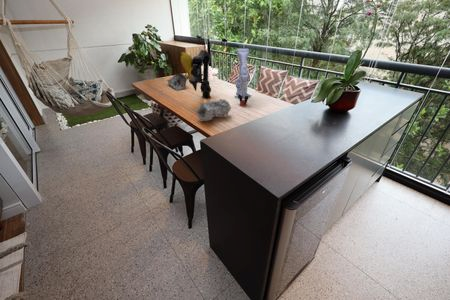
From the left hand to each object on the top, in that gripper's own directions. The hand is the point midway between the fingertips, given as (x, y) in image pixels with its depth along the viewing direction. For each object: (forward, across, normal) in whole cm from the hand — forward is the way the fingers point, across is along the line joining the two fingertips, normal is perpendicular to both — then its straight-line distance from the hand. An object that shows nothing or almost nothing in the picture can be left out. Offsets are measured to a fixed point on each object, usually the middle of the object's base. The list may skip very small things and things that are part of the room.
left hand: (199, 91), depth 177 cm
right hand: (+11, +33, +21) cm, 40 cm away
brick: (+12, +33, +21) cm, 41 cm away
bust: (+12, +28, -16) cm, 34 cm away
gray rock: (+12, -59, +27) cm, 66 cm away
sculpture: (+12, -74, +64) cm, 99 cm away
